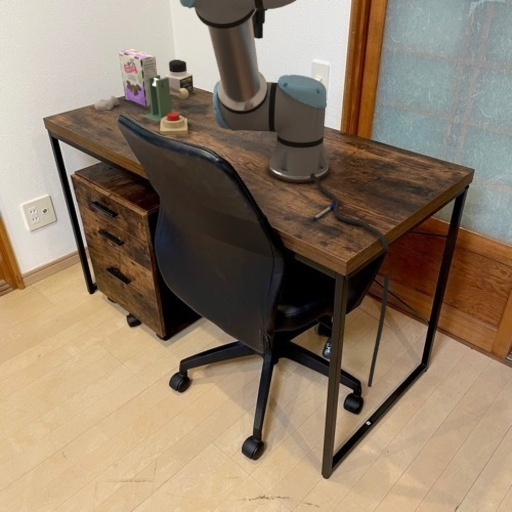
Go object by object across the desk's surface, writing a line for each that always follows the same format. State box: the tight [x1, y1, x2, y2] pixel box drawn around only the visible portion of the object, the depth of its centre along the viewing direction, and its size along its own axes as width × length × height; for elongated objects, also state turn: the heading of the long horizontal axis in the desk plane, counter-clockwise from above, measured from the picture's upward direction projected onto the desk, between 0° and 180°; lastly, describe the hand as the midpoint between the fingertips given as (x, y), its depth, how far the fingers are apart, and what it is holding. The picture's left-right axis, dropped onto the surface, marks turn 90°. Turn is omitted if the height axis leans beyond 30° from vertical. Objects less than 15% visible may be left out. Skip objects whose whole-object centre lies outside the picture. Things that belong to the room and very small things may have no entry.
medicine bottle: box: [164, 58, 194, 97], centre depth 187 cm, size 7×7×12 cm
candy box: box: [118, 48, 158, 107], centre depth 178 cm, size 14×6×16 cm, turn 42°
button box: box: [159, 115, 189, 136], centre depth 159 cm, size 10×8×4 cm
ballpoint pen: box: [312, 201, 341, 221], centre depth 119 cm, size 10×1×1 cm, turn 142°
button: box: [167, 112, 180, 121], centre depth 158 cm, size 4×4×2 cm
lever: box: [152, 78, 190, 101], centre depth 168 cm, size 14×4×4 cm, turn 138°
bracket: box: [141, 74, 182, 123], centre depth 166 cm, size 10×8×13 cm
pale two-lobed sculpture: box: [93, 95, 119, 112], centre depth 175 cm, size 4×8×5 cm
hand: (257, 37), depth 139 cm, fingers closed
